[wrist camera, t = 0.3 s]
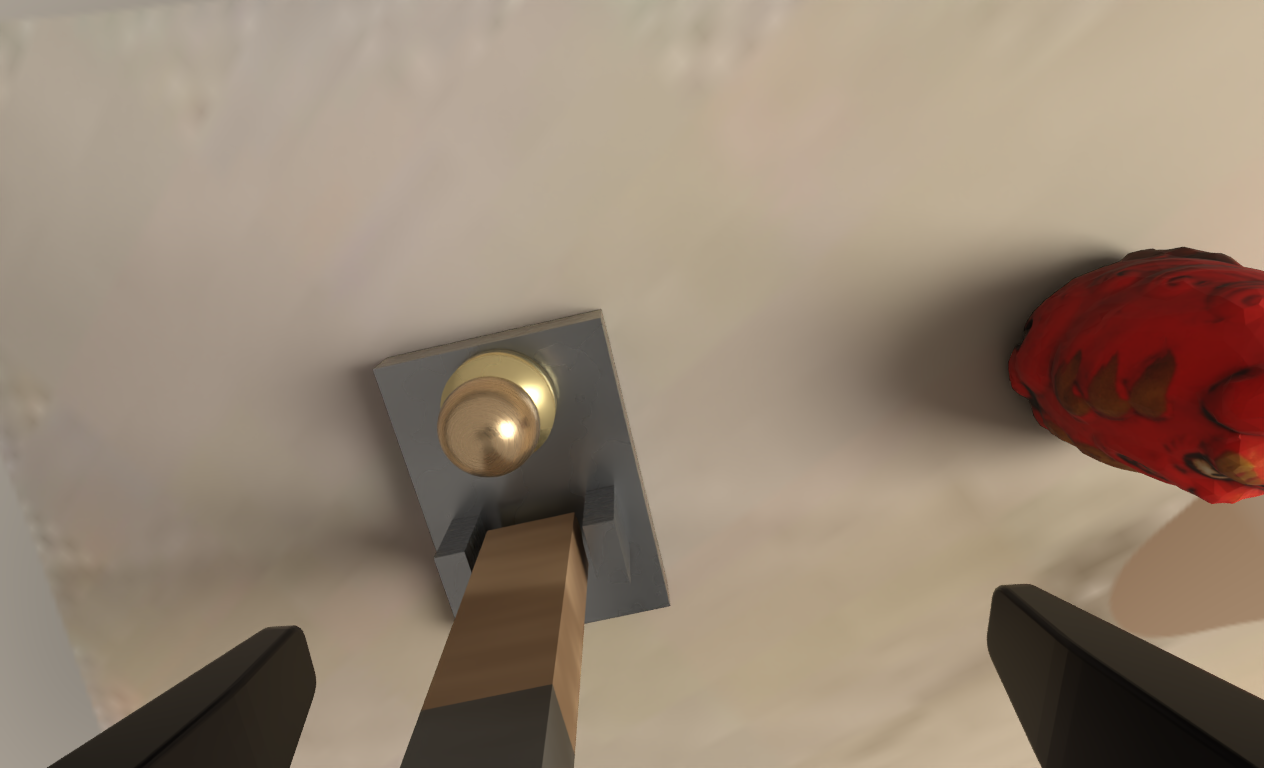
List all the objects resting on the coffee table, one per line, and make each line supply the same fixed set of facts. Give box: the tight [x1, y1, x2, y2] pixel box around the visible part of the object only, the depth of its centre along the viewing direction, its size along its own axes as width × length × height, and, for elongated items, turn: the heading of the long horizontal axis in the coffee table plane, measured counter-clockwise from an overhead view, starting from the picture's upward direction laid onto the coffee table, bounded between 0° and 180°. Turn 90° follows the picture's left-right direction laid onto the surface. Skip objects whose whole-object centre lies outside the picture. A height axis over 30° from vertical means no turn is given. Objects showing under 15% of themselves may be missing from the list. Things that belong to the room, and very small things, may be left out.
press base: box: [373, 309, 670, 624], centre depth 22 cm, size 11×8×5 cm
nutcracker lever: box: [400, 512, 589, 768], centre depth 17 cm, size 2×3×14 cm, turn 103°
